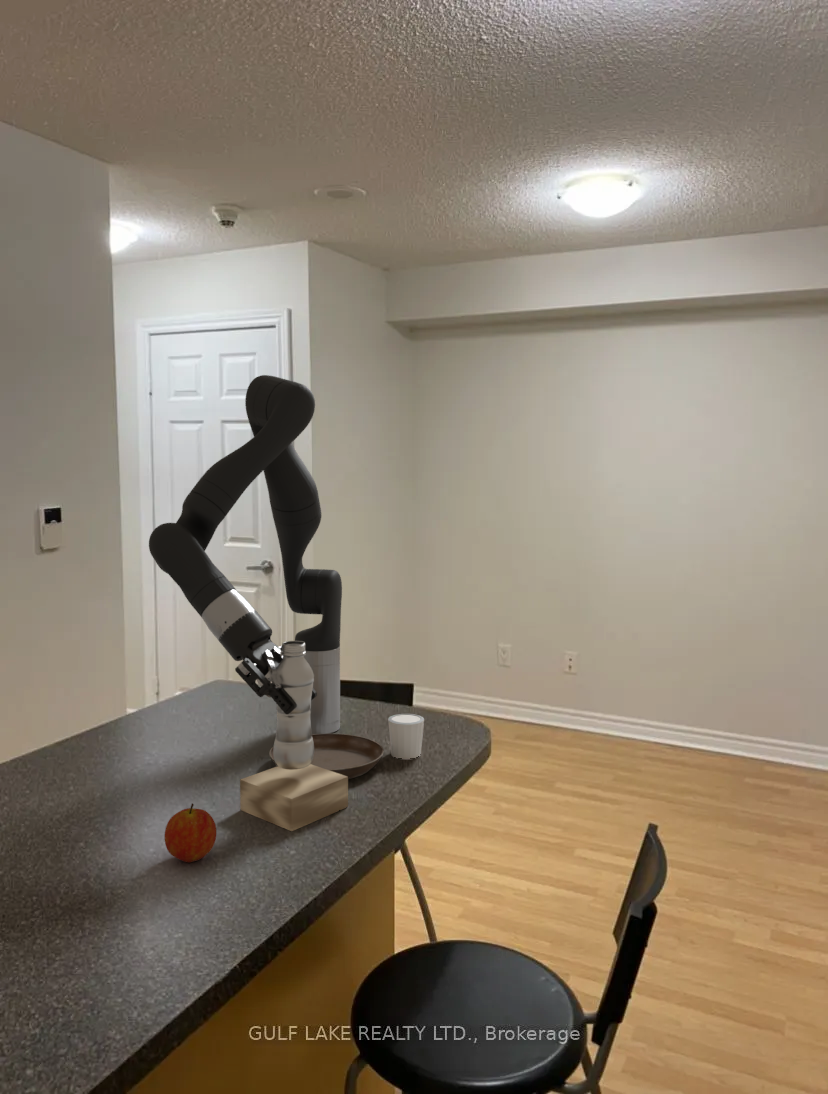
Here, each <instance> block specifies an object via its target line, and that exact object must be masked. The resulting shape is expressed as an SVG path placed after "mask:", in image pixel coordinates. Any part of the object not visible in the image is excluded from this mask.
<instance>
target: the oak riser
mask: <svg viewBox="0 0 828 1094" xmlns="http://www.w3.org/2000/svg"><path fill="white" fill-rule="evenodd" d="M239 792H240V793H239V795H240V797H239V799H240V806H239V807H240V811H241V812H243V813H247V814H249V815H252V816H253V817H256V818H259V819H262V820H264V821H265V822H268V823H271V824H273V825H275V826H278V827H280V828H282V829H284V830H287V831H290V832H294V831H296V830H298V829H300V828H303V827H306V826H307V825H309V824H312V823H315V822H317V821H319V820H321V819H324V818H325V817H328V816H331V815H332V814H335V813H337V812H339V810H340V811H341V810H344V809H346V807H347V808H348V807H349V779H348V776H345V775H342V774H339V773H336V772H333V771H330V770H327V769H324V768H321V767H318V766H315V765H312V764H310V765H309V766H307V767H305V768H301V769H294V770H289V769H283V768H280V767H279V766H274V767H272V768H268V769H266V770H263V771H260V772H258V773H255V774H252V775H249V776H246V777H243V778H241V779H240V780H239Z"/></svg>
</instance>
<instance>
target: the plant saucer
mask: <svg viewBox="0 0 828 1094" xmlns="http://www.w3.org/2000/svg"><path fill="white" fill-rule="evenodd" d="M312 738H313V742H314V750H315V751H314V757H313V760H312V762H311V764H312V765H315V766H318V767H321V768H324V769H327V770H330V771H333V772H336V773H339V774H342V775H345V776H348V780H350V779H355V778H358V777H361V776H362V775H364V774H367V773H369V772H370V770H372V769H373V768H374V767H375V766H376V765H377V764H378V763H379V761H380V760H381V758H382V757H383V754H384V747H383V746H382V745H381V744H380V743H378V742H377V741H376V740H373V739H370V738H368V737H364V736H358V735H354V734H349V733H348V734H345V733H327V734H312ZM273 749H274V745H273V746H272V747H271V748H270V750H269V754H268V755H269V757H270V760H271V761H272V762H273V764H274V765H275V767H277V766H278V765H277V764H276V763H275V761H274V755H273Z"/></svg>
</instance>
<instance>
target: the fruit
mask: <svg viewBox="0 0 828 1094" xmlns="http://www.w3.org/2000/svg"><path fill="white" fill-rule="evenodd" d="M216 839H217V827H216V823H215V820H214V818H213V817H212V815H211V814H210V813H209V812H208V811H206V810H204V809H202V808H194V803H191V804H190V807H189V808H187V807H186V808H184V809H182V810H180V811H178V812H176V813H175V814H173V815H172V816H171V817H170V818H169V819H168V821H167V824H166V826H165V830H164V844H165V848H166V850H167V851H168V853H169V854H170V855H171V856H172V857H174V858H176V859H178V860H180V861H182V862H184V863H189V864H190V863H192V862H196V861H197V862H198V861H199V860H201V859H203V858H204V857H205V856H207V855H208V854H209V853H210V852H211V851H212V849H213V847H214V846H215V844H216Z"/></svg>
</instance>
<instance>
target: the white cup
mask: <svg viewBox="0 0 828 1094" xmlns="http://www.w3.org/2000/svg"><path fill="white" fill-rule="evenodd" d="M387 719H388V722H387V723H388V731H389V732H388V733H389V744H390V754H391V757H393V758H394V757H396V758H395V759H398V758H402V759H401V760H411V759H410V758H415V759H417V758H416V757H418V756H419V757H421V755H422V747H423V746H422V745H423V735H424V726H425V725H424V724H425V718H424V717H423V716H421V715H419V714H414V713H399V714H394V715H391V716H389V717H388V718H387ZM420 754H421V755H420ZM419 757H418V758H419Z"/></svg>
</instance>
